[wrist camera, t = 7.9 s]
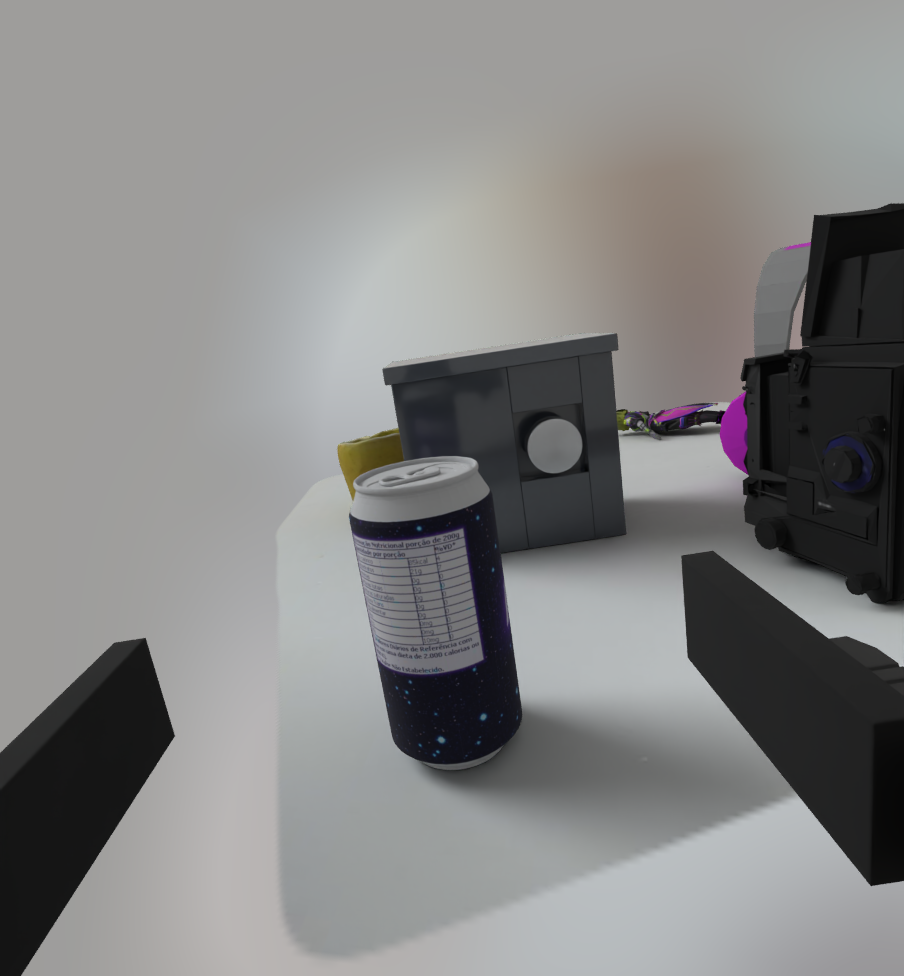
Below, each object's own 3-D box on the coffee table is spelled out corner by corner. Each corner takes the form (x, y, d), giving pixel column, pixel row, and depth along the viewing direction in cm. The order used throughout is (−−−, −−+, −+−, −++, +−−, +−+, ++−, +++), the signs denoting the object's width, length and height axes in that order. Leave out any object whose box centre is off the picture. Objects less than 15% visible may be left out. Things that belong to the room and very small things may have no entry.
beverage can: (551, 742, 25) (516, 462, 23) (430, 806, 23) (374, 501, 20) (481, 684, 30) (445, 448, 28) (375, 731, 28) (324, 478, 25)
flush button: (530, 477, 45) (524, 423, 44) (527, 473, 46) (521, 420, 45) (585, 469, 45) (580, 414, 44) (580, 465, 46) (575, 412, 45)
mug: (466, 487, 61) (417, 398, 59) (376, 541, 59) (323, 450, 58) (442, 486, 73) (400, 411, 71) (366, 530, 71) (322, 455, 70)
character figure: (737, 425, 81) (616, 426, 89) (738, 396, 80) (615, 400, 88) (731, 440, 73) (598, 441, 81) (731, 409, 72) (597, 412, 80)
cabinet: (416, 568, 47) (382, 368, 43) (419, 525, 58) (391, 362, 54) (633, 535, 47) (617, 332, 43) (596, 498, 57) (581, 333, 54)
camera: (824, 513, 46) (825, 226, 41) (1031, 574, 33) (1068, 166, 28) (707, 541, 44) (692, 243, 39) (877, 619, 31) (888, 188, 26)
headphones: (818, 490, 51) (818, 233, 46) (713, 481, 57) (704, 256, 52) (891, 435, 64) (898, 231, 59) (799, 433, 70) (798, 249, 65)
